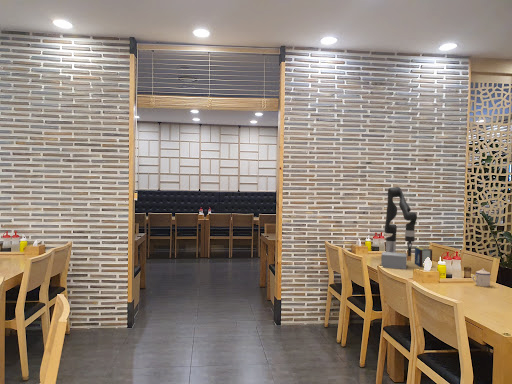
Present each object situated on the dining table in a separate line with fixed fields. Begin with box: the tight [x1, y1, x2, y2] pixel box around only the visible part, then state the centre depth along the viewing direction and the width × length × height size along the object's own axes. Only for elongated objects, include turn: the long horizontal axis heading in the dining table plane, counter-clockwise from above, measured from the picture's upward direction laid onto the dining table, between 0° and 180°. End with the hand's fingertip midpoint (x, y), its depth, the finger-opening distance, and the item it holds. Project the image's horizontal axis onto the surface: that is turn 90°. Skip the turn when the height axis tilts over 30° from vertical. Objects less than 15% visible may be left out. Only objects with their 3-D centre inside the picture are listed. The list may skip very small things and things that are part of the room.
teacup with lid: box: [471, 268, 491, 288], centre depth 282 cm, size 12×9×12 cm
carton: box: [380, 255, 408, 270], centre depth 346 cm, size 18×20×10 cm
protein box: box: [414, 246, 433, 268], centre depth 353 cm, size 10×15×16 cm
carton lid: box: [381, 249, 412, 262], centre depth 345 cm, size 18×24×8 cm
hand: (409, 255), depth 341 cm, fingers open, 4 cm apart
